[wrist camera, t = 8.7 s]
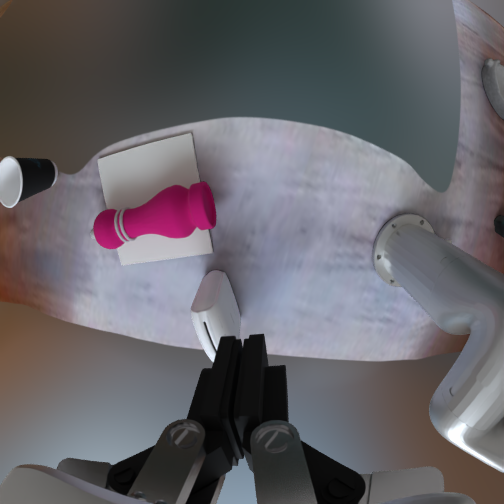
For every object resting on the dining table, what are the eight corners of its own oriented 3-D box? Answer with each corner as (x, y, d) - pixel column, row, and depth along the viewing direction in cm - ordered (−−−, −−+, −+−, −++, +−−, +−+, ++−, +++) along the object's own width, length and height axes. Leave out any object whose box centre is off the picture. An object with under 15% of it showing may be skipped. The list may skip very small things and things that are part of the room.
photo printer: (244, 321, 46) (240, 371, 34) (220, 325, 46) (209, 375, 35) (226, 266, 43) (215, 307, 31) (200, 272, 43) (181, 314, 31)
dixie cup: (62, 147, 36) (19, 151, 26) (65, 191, 39) (24, 204, 28) (34, 156, 36) (-7, 162, 26) (38, 197, 39) (-2, 210, 29)
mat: (192, 133, 36) (191, 133, 35) (213, 252, 42) (212, 253, 41) (99, 159, 37) (97, 159, 37) (123, 264, 43) (121, 265, 42)
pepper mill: (198, 168, 32) (77, 206, 35) (203, 223, 31) (76, 253, 34) (214, 189, 39) (104, 218, 42) (220, 236, 38) (105, 260, 41)
